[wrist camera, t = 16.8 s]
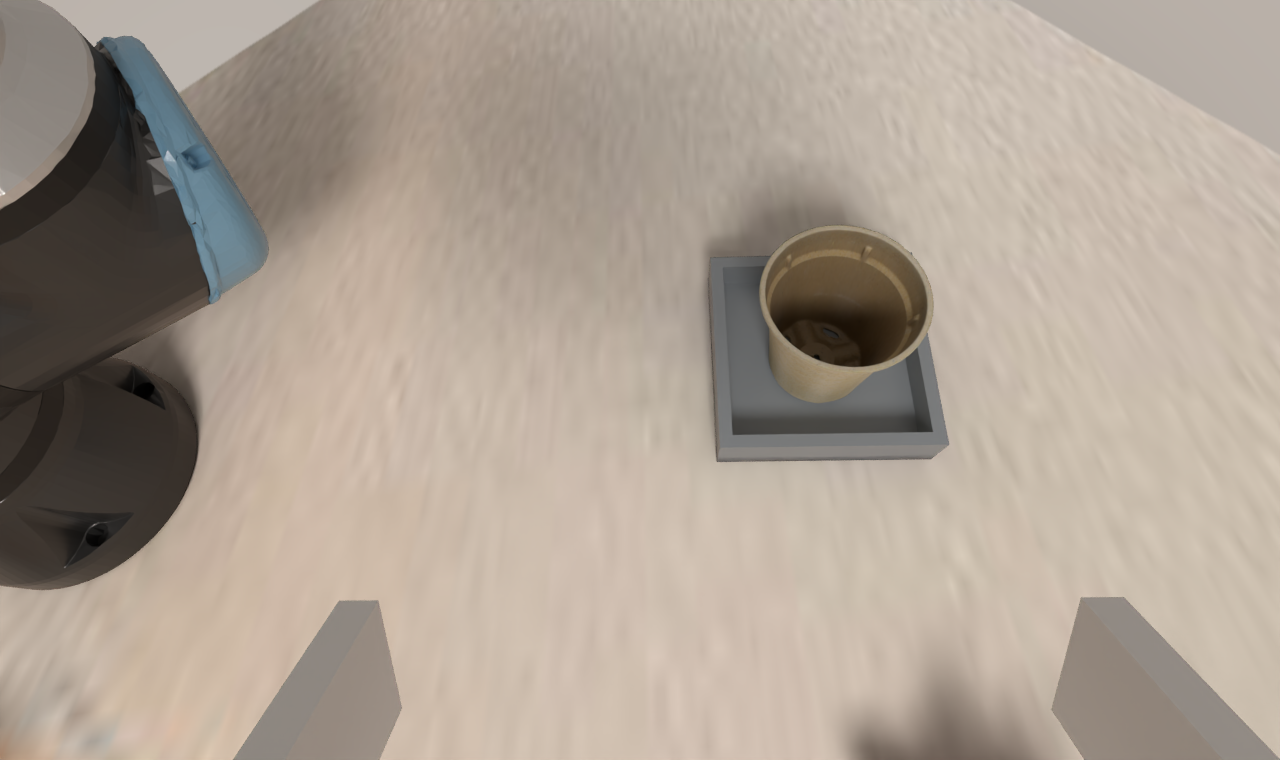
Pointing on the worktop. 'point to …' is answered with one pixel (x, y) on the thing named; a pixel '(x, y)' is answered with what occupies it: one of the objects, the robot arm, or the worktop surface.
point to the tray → (796, 429)
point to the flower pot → (841, 309)
